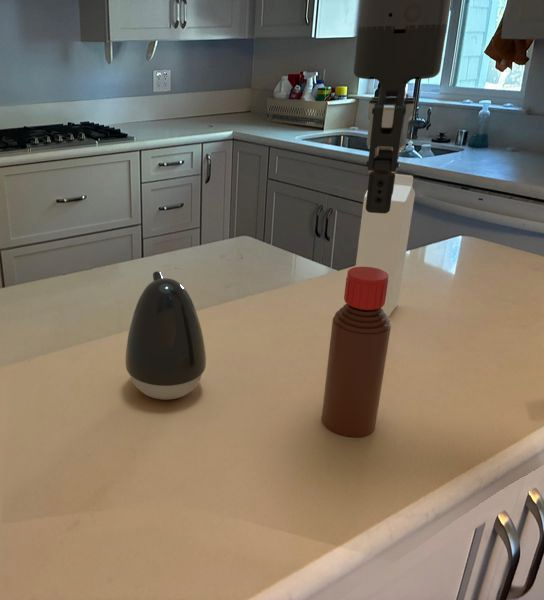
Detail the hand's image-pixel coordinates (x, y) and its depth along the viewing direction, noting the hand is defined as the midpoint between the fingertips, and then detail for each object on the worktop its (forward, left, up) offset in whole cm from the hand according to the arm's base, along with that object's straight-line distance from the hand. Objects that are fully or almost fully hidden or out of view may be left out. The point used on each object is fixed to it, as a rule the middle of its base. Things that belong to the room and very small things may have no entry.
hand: (379, 203), depth 62 cm
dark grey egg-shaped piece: (+23, +2, -26) cm, 35 cm away
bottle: (0, +1, -26) cm, 26 cm away
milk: (0, -33, -26) cm, 42 cm away
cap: (0, +1, -11) cm, 11 cm away
